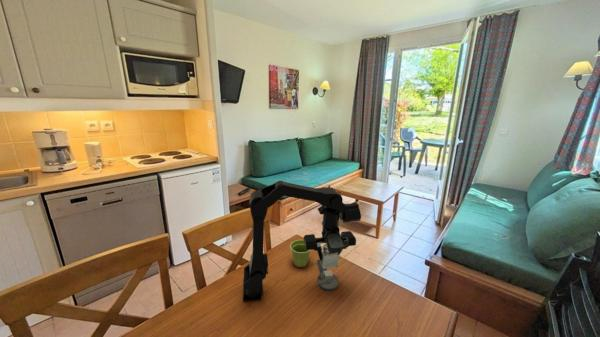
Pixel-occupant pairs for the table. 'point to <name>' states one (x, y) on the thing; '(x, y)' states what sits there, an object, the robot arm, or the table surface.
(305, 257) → the plant pot
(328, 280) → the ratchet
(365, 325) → the table surface
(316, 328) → the table surface
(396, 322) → the table surface
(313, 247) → the robot arm
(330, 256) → the block with round boss
